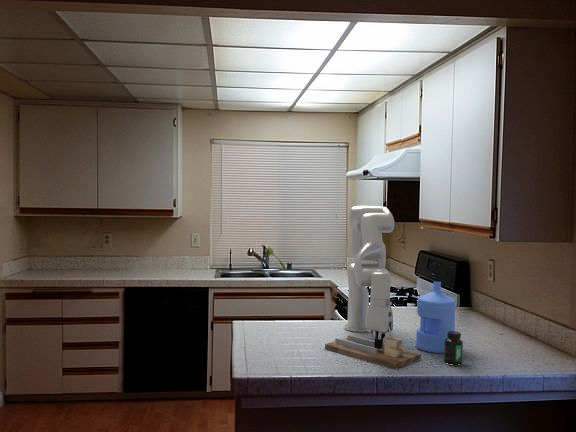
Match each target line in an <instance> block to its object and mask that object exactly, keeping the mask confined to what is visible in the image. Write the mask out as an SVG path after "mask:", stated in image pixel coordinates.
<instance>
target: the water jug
mask: <svg viewBox="0 0 576 432" xmlns="http://www.w3.org/2000/svg"><path fill="white" fill-rule="evenodd" d="M441 284H442V282H441V281H433V286H432V291H430V292H429V293H426V294H424V295H421V296H419V297H417V301H416V302H417V303H416V308H417V309H416V310H417V311H416V312H417V313H416V314H417V315H418V316H419V317H420V325H419V327H418V328H417V329H416V332H415V334H416V335H415V336H416V338H415V347H416V348H418V349H419V350H420V351H423V352H426V351H427V353H431V352H434V353H433V354H444V343H445V339H447V338H448V337H447V335H448V331H456V310H457V309H456V308H457V305H456V300H455V299H454V298H452V297H451V296H449V295H447V294H445V293H444V292H442V291H441V289H442V285H441Z"/></svg>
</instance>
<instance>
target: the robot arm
mask: <svg viewBox="0 0 576 432" xmlns="http://www.w3.org/2000/svg"><path fill="white" fill-rule="evenodd" d="M348 217H349V221H350V222H349V223H350V226H351V231H352V233H351V234H352V236H351V238H352V239H351V257H352V259H353V260H354V262H353V263H351V264H348V266H347V271H346V274H347V283H348V293H347V294H348V296H347V297H348V299H347V323H346V324H344V326H343V328H344V330H346V331H349V332H355V333H367V332H368V333H371V335H372V337H373V339H374V340H373V341H374V345H375V347H374V348H377V349H381V348H382V346H383V343H384V339H385V337H390V336H391V337H392V332H393V331H394V316H393V315H394V314H393V309H392V307H391V306H392V305H393V302H392V301H391V272H389V270H388V269H387V268H386V260H387V258H386V257H387V256H386V255H387V249H386V245H385V243H384V242H383V233H385V234H386V233H389V234H390V233H392V232H393V231H394V230H395V219H394V216H393V213H392V212H391V211H390V210H389V208H387V207H386V206H382V205H381V206H377V205H375V206H374V205H355V206H352V207H350V209H349V212H348ZM363 261H368V262H363ZM369 261H372V262H369ZM373 261H374V262H373ZM367 287H370V293H369V290H368V288H367ZM369 294H370V295H369ZM369 296H370V299H369ZM369 300H370V304H369Z"/></svg>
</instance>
